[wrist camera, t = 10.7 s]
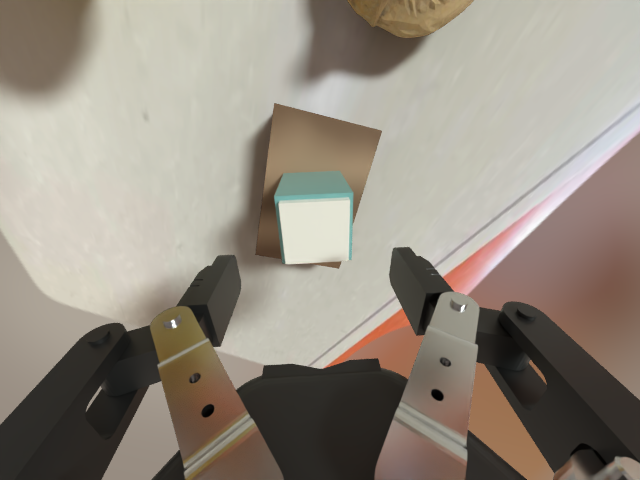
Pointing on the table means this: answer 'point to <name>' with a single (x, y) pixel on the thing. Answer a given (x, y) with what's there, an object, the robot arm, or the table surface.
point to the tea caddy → (314, 217)
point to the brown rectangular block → (312, 162)
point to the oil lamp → (409, 14)
